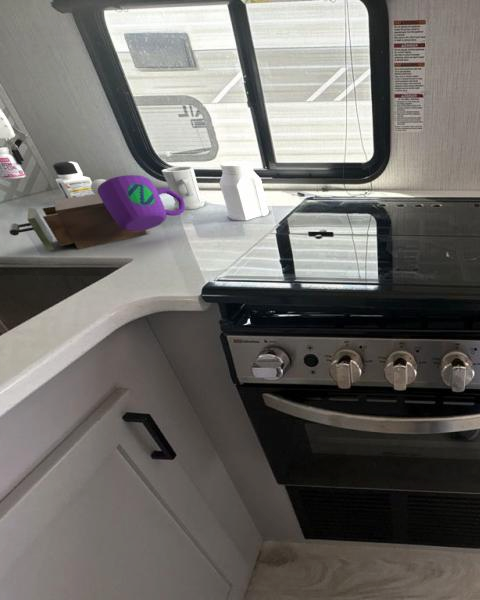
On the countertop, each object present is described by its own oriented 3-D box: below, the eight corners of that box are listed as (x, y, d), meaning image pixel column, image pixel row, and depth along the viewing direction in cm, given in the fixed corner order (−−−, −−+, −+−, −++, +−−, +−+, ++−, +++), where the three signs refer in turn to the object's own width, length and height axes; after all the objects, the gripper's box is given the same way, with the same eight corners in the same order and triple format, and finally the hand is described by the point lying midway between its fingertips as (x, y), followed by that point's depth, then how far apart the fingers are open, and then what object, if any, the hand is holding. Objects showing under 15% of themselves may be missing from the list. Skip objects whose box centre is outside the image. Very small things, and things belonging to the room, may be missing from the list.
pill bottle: (10, 179, 98) (-8, 148, 94) (0, 178, 99) (-18, 148, 95) (30, 176, 102) (13, 146, 98) (20, 176, 103) (3, 146, 99)
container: (74, 204, 116) (53, 165, 109) (66, 201, 120) (45, 163, 113) (100, 199, 121) (82, 161, 114) (92, 196, 125) (73, 159, 118)
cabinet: (77, 249, 81) (55, 210, 76) (74, 236, 89) (53, 200, 84) (147, 233, 90) (131, 198, 85) (138, 223, 97) (123, 189, 92)
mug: (124, 215, 74) (101, 174, 73) (112, 236, 81) (91, 199, 80) (200, 208, 88) (182, 173, 87) (185, 227, 95) (168, 195, 94)
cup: (215, 203, 114) (203, 166, 108) (197, 211, 107) (183, 172, 100) (188, 202, 116) (175, 166, 109) (168, 210, 108) (153, 171, 102)
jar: (237, 222, 96) (222, 168, 88) (224, 215, 102) (208, 164, 94) (273, 213, 103) (262, 162, 95) (259, 207, 109) (247, 159, 101)
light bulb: (118, 207, 112) (104, 176, 106) (128, 209, 109) (114, 178, 104) (99, 212, 107) (82, 180, 102) (109, 214, 105) (93, 182, 100)
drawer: (23, 256, 76) (0, 223, 72) (24, 243, 83) (3, 212, 79) (116, 236, 86) (102, 206, 82) (110, 225, 93) (96, 197, 89)
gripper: (11, 94, 97) (46, 160, 106) (-80, 93, 87) (-33, 167, 96) (10, 93, 92) (46, 163, 102) (-87, 93, 82) (-36, 170, 92)
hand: (7, 164), depth 99 cm, fingers closed on pill bottle, 4 cm apart
